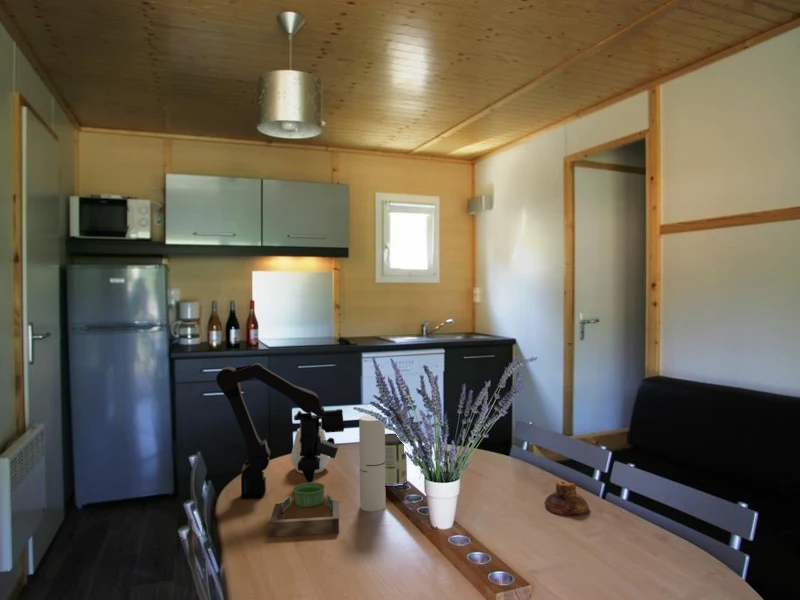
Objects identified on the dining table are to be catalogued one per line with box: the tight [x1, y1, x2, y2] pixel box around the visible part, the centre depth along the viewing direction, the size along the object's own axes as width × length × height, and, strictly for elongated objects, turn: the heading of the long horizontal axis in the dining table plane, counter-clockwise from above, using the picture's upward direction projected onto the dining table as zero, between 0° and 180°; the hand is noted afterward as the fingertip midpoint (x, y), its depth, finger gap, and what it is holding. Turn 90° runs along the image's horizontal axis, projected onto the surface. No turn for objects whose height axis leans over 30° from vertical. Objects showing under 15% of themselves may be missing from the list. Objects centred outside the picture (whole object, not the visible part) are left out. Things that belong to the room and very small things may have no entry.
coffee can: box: [385, 433, 408, 484], centre depth 177 cm, size 10×10×14 cm
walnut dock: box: [268, 500, 340, 538], centre depth 144 cm, size 17×12×4 cm
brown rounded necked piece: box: [544, 480, 590, 517], centre depth 154 cm, size 12×12×7 cm
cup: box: [290, 426, 331, 474], centre depth 190 cm, size 13×13×14 cm
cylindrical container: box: [358, 414, 387, 512], centre depth 156 cm, size 7×7×25 cm
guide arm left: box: [280, 495, 291, 516], centre depth 154 cm, size 6×1×3 cm, turn 170°
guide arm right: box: [326, 493, 336, 513], centre depth 155 cm, size 6×1×3 cm, turn 22°
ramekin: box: [292, 481, 325, 508], centre depth 160 cm, size 9×9×4 cm
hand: (310, 484), depth 170 cm, fingers closed
